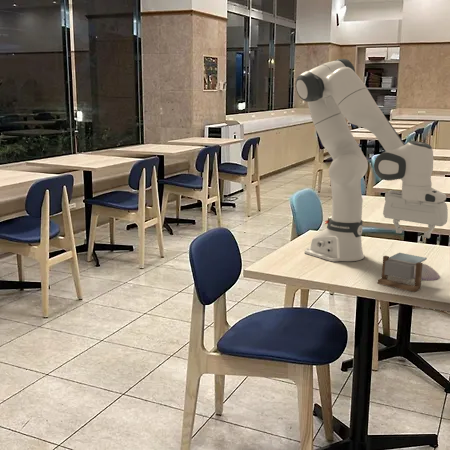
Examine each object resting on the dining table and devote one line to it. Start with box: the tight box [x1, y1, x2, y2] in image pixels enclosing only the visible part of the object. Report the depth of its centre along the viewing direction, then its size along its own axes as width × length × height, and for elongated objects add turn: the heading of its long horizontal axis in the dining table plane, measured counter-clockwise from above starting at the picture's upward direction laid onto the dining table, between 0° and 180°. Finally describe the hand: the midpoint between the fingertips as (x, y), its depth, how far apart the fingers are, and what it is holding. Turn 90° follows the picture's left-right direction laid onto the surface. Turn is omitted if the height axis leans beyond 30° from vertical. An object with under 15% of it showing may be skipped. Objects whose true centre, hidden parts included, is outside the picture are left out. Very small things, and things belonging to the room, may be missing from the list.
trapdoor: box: [384, 252, 427, 281], centre depth 186 cm, size 9×11×5 cm
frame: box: [377, 255, 424, 293], centre depth 184 cm, size 13×4×8 cm, turn 49°
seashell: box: [413, 263, 440, 281], centre depth 195 cm, size 10×6×10 cm
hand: (412, 235), depth 186 cm, fingers open, 8 cm apart
